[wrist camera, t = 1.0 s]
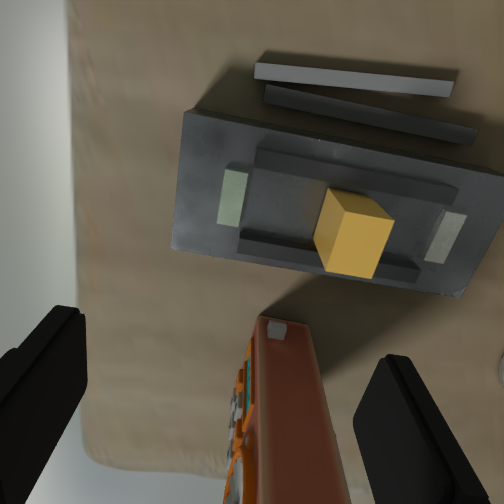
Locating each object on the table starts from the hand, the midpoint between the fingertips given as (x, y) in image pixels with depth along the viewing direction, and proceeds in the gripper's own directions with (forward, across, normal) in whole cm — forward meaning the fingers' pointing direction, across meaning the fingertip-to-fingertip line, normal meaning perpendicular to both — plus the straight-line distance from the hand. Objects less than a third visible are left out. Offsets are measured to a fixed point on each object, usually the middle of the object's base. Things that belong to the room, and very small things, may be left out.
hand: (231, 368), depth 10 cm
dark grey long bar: (+20, -8, -7) cm, 23 cm away
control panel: (+20, -6, +19) cm, 28 cm away
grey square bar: (+20, -6, -9) cm, 23 cm away
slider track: (+20, -7, 0) cm, 21 cm away
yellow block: (+16, -7, 0) cm, 18 cm away
